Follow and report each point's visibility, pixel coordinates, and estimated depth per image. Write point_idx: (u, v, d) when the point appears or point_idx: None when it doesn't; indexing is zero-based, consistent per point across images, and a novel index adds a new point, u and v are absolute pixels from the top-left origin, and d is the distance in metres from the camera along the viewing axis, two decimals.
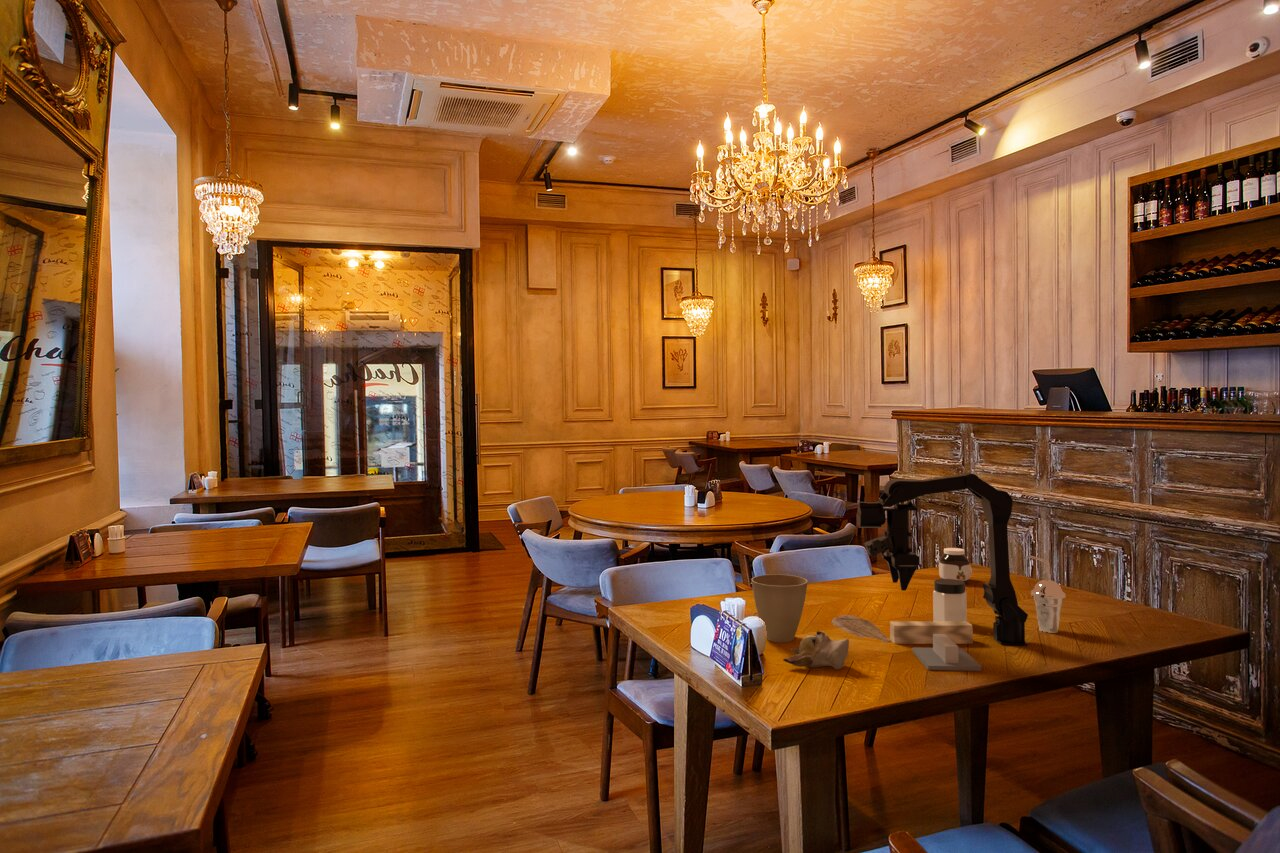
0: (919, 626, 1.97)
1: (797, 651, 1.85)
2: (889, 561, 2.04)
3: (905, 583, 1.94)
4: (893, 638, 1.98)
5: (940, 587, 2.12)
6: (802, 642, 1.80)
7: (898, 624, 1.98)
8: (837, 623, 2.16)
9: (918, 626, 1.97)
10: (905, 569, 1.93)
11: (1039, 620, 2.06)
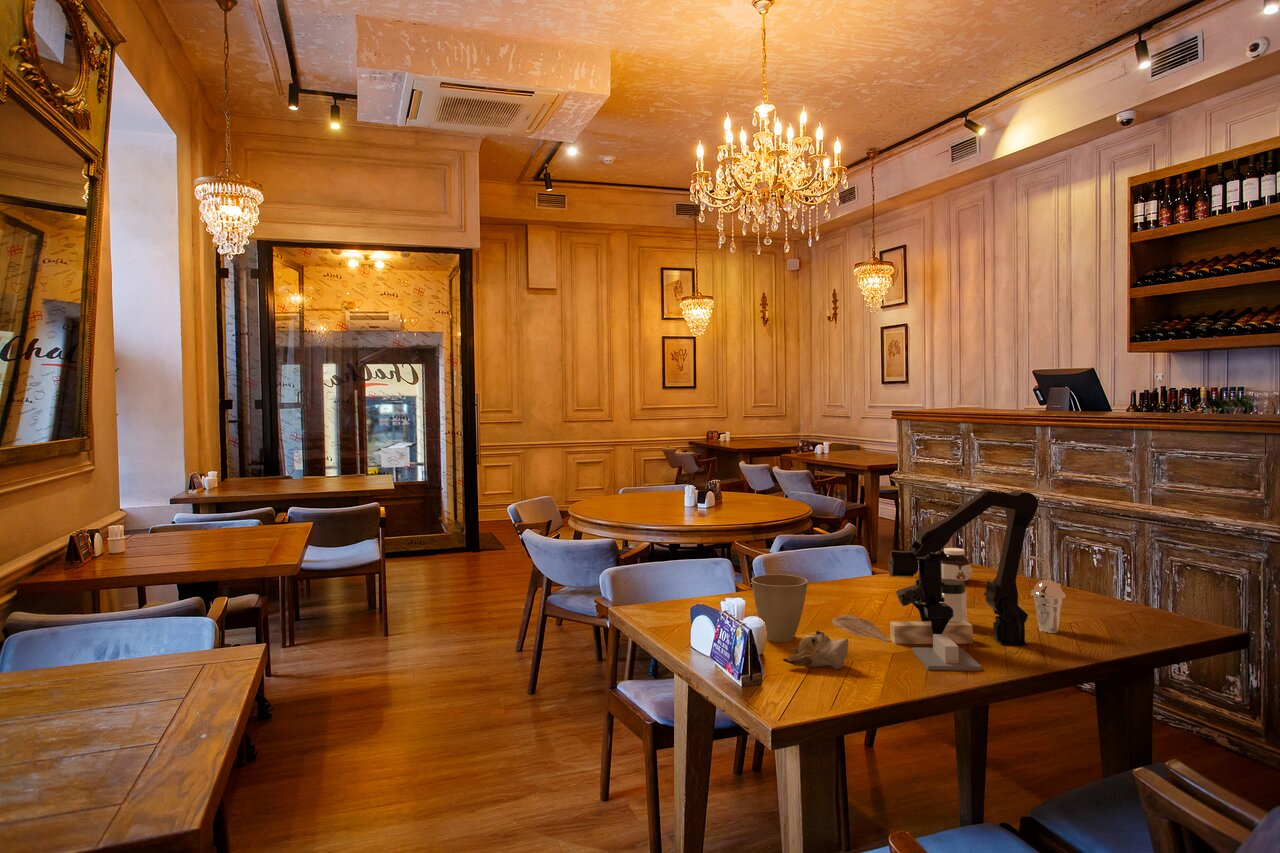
0: (919, 626, 1.97)
1: (796, 651, 1.85)
2: (920, 609, 2.03)
3: None
4: (893, 638, 1.98)
5: None
6: (801, 641, 1.81)
7: (898, 624, 1.98)
8: (837, 623, 2.16)
9: (918, 626, 1.97)
10: (938, 620, 1.93)
11: (1039, 620, 2.06)
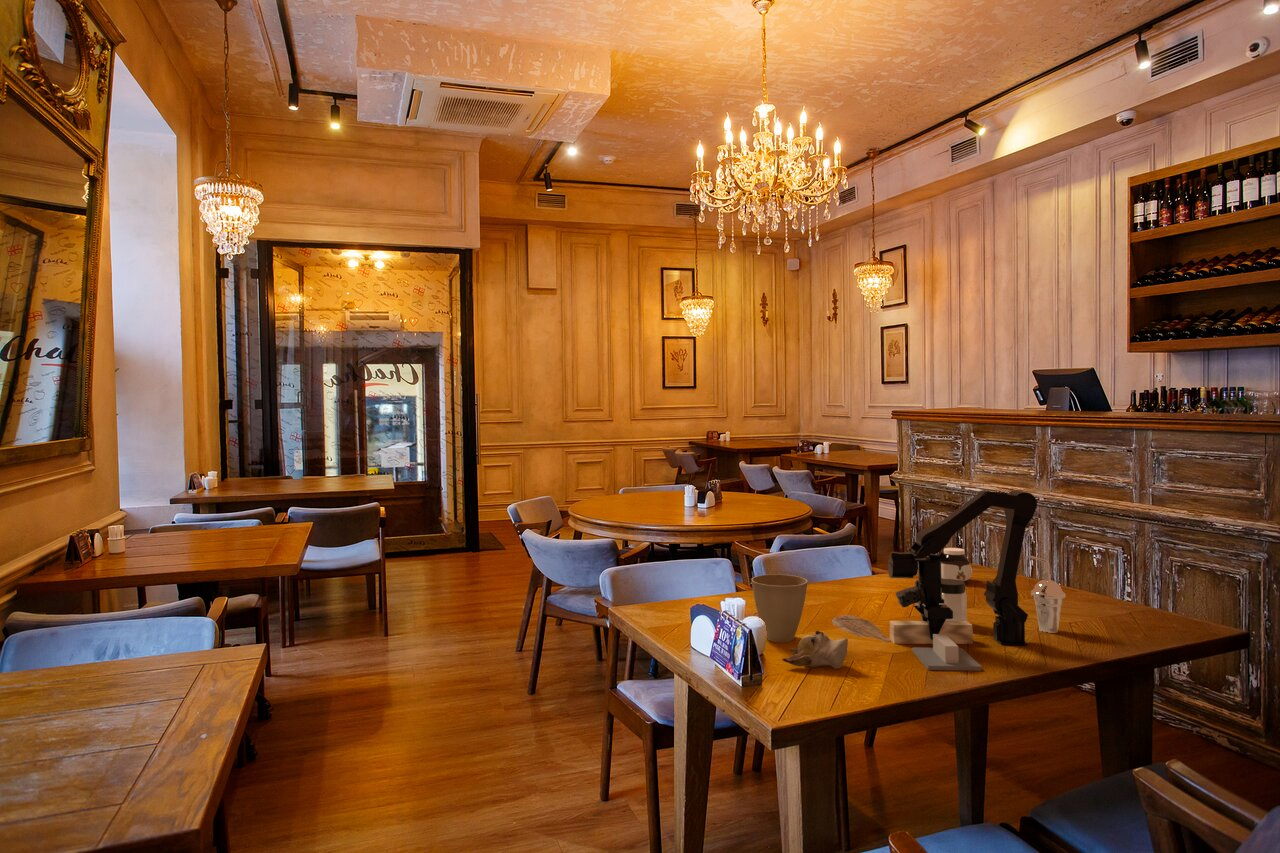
0: (919, 626, 1.97)
1: (796, 651, 1.85)
2: (922, 613, 2.01)
3: (934, 633, 1.95)
4: (893, 637, 1.98)
5: None
6: (801, 641, 1.81)
7: (898, 624, 1.98)
8: (837, 623, 2.16)
9: (918, 626, 1.97)
10: (935, 619, 1.95)
11: (1039, 620, 2.06)
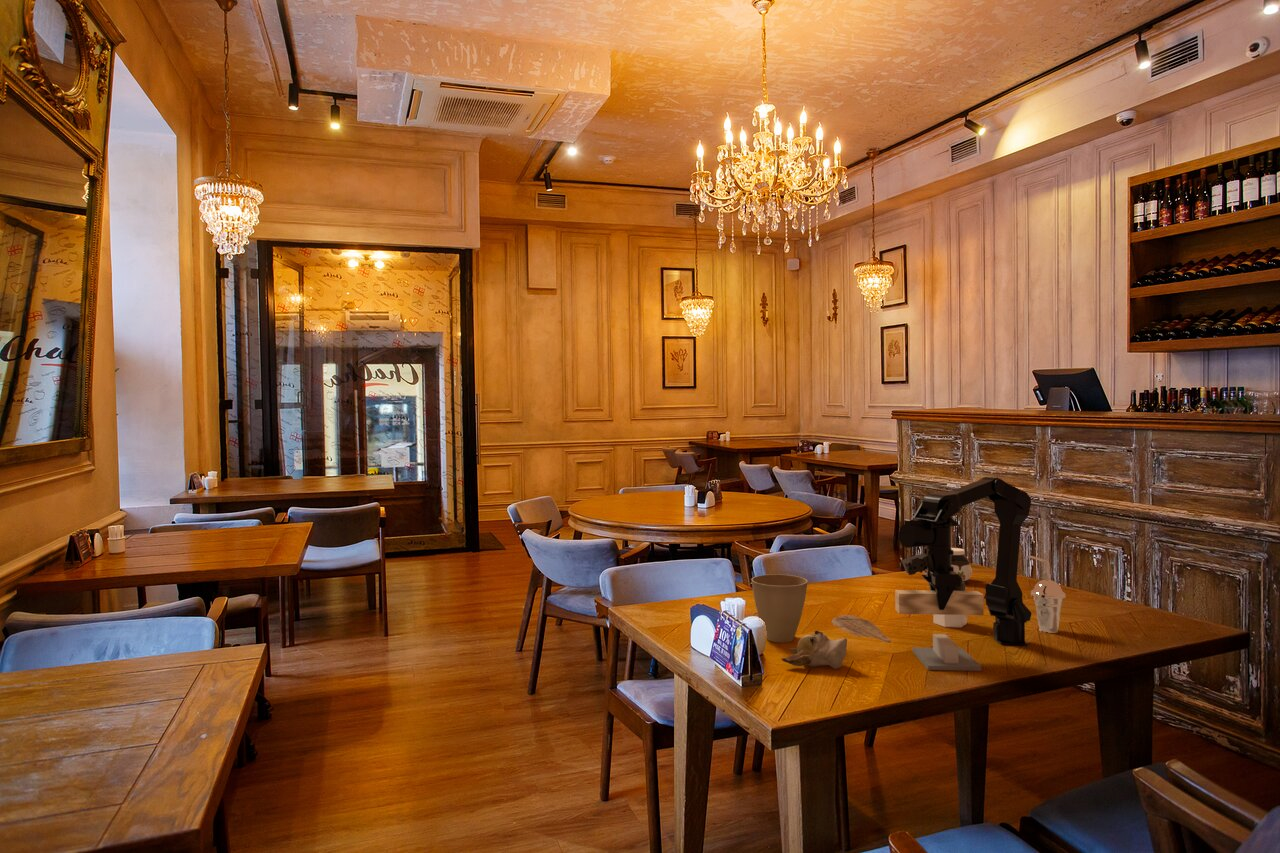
0: (926, 595, 1.85)
1: (795, 651, 1.85)
2: None
3: (943, 603, 1.84)
4: (898, 607, 1.87)
5: None
6: (800, 641, 1.81)
7: (903, 592, 1.87)
8: (837, 623, 2.16)
9: (925, 594, 1.85)
10: (943, 587, 1.84)
11: (1039, 620, 2.06)
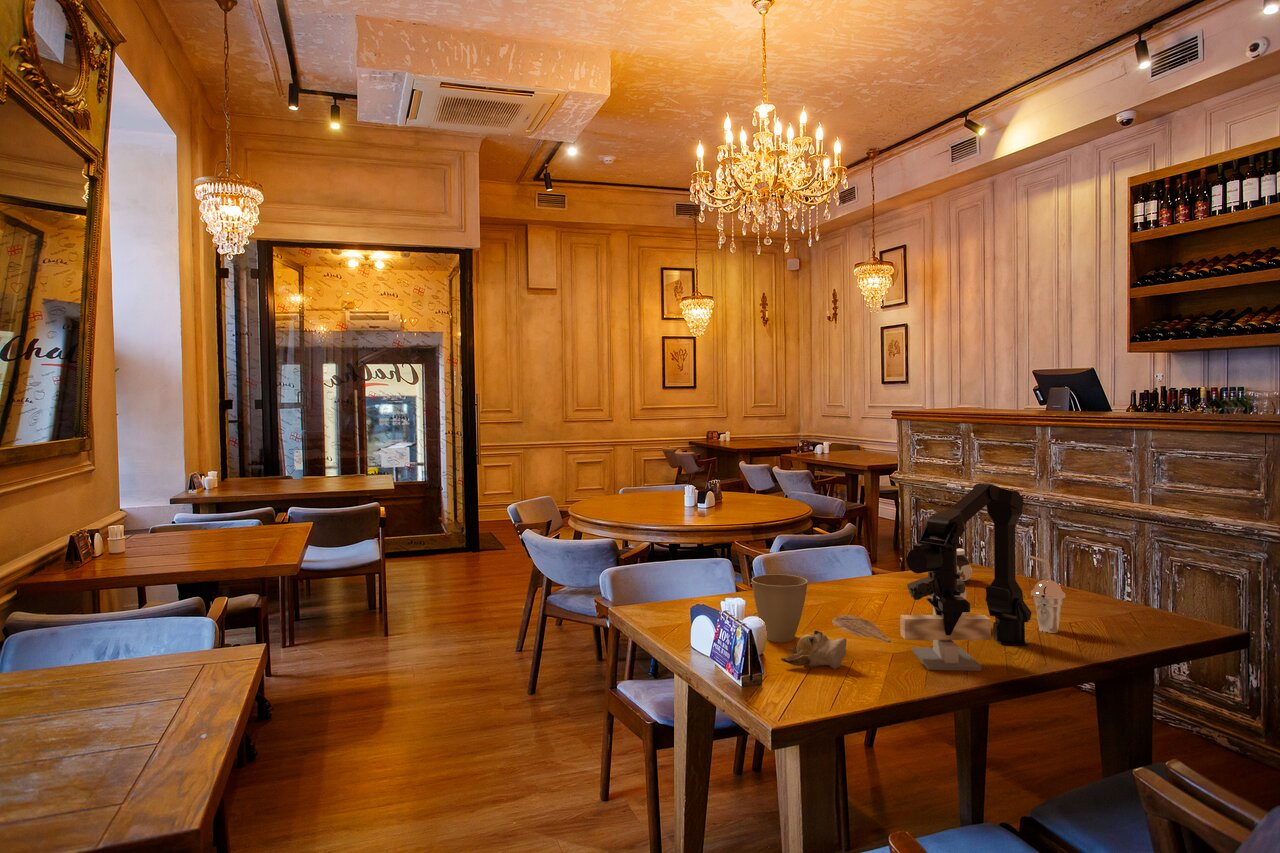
0: (932, 620, 1.81)
1: (794, 650, 1.85)
2: (936, 606, 1.85)
3: (950, 628, 1.80)
4: (904, 633, 1.82)
5: None
6: (799, 641, 1.81)
7: (909, 618, 1.82)
8: (837, 623, 2.16)
9: (931, 620, 1.81)
10: (950, 612, 1.79)
11: (1039, 620, 2.06)
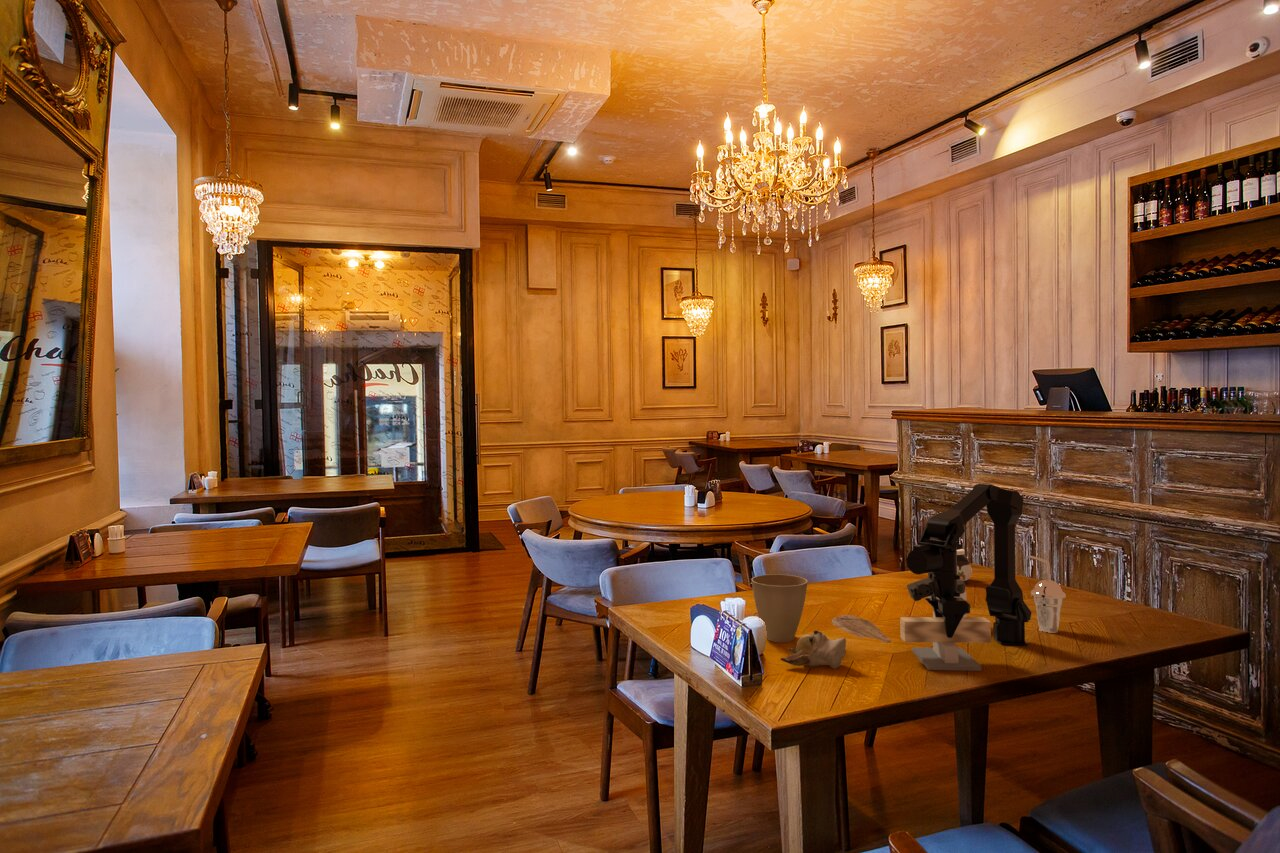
0: (932, 622, 1.81)
1: (794, 650, 1.86)
2: (934, 606, 1.86)
3: (951, 630, 1.78)
4: (904, 635, 1.82)
5: None
6: (799, 641, 1.81)
7: (909, 620, 1.82)
8: (837, 623, 2.16)
9: (931, 622, 1.81)
10: (952, 615, 1.78)
11: (1039, 620, 2.06)
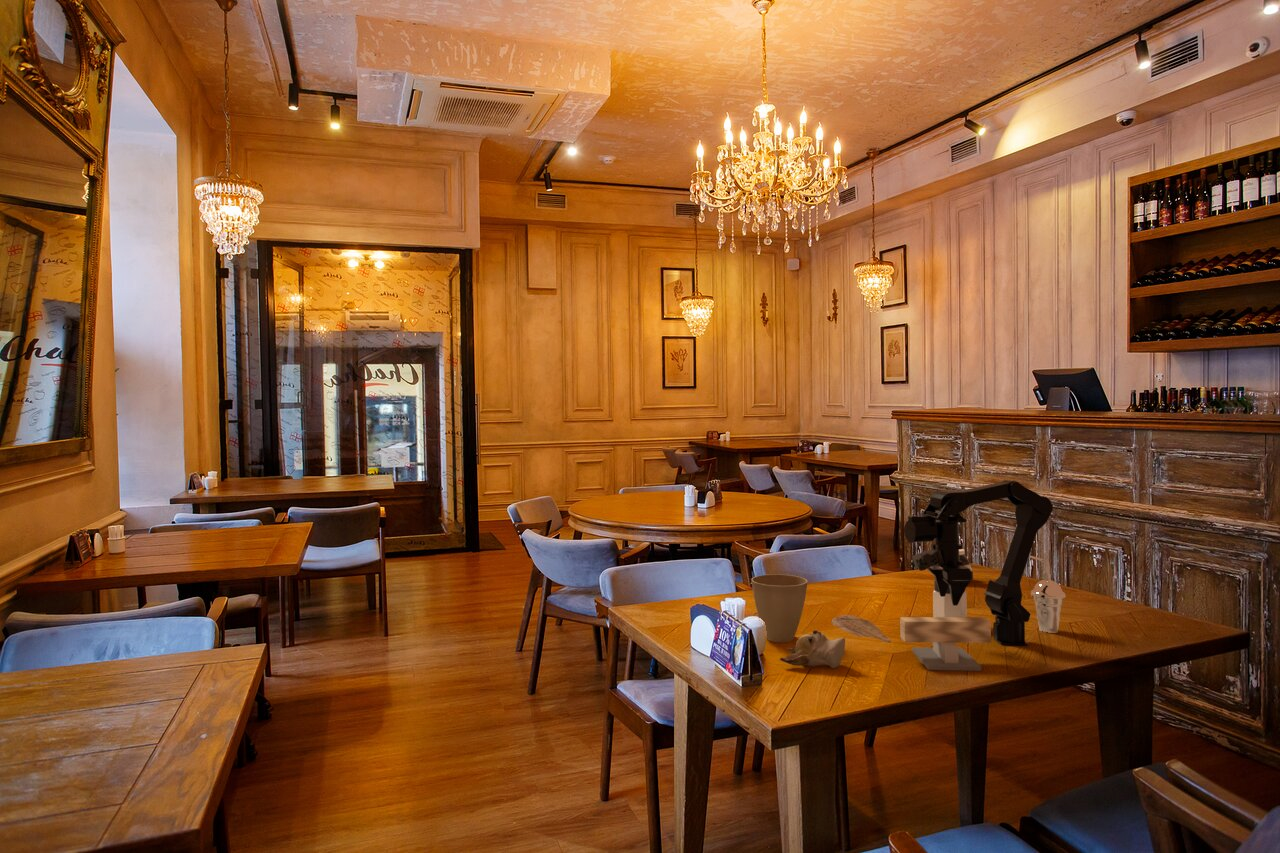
0: (932, 622, 1.81)
1: (793, 650, 1.86)
2: (936, 574, 1.99)
3: (957, 598, 1.88)
4: (904, 635, 1.82)
5: None
6: (798, 641, 1.81)
7: (909, 620, 1.82)
8: (837, 623, 2.16)
9: (931, 622, 1.81)
10: (957, 583, 1.88)
11: (1039, 620, 2.06)
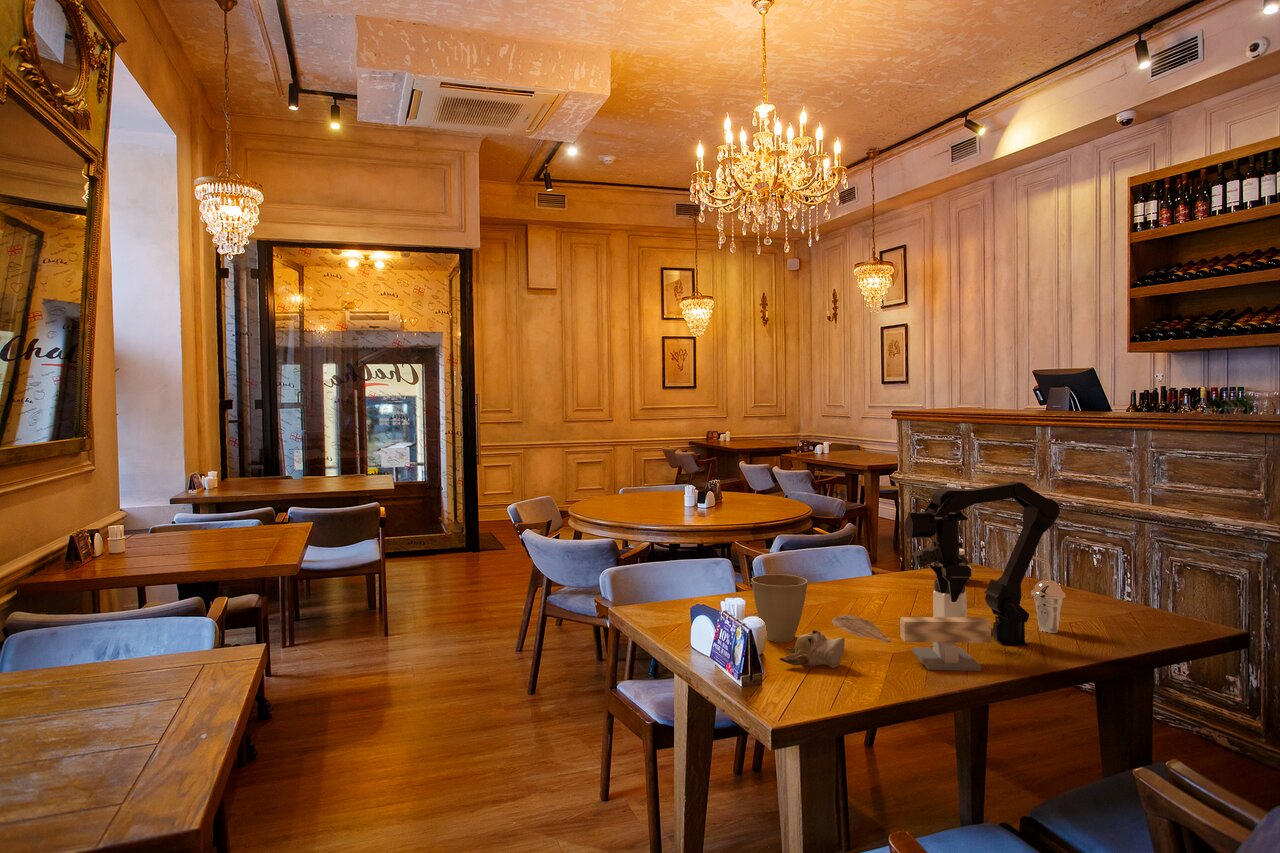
0: (932, 622, 1.81)
1: (793, 650, 1.86)
2: (937, 571, 2.01)
3: (955, 595, 1.91)
4: (904, 635, 1.82)
5: None
6: (798, 641, 1.81)
7: (909, 620, 1.82)
8: (837, 623, 2.16)
9: (931, 622, 1.81)
10: (956, 580, 1.90)
11: (1039, 620, 2.06)
